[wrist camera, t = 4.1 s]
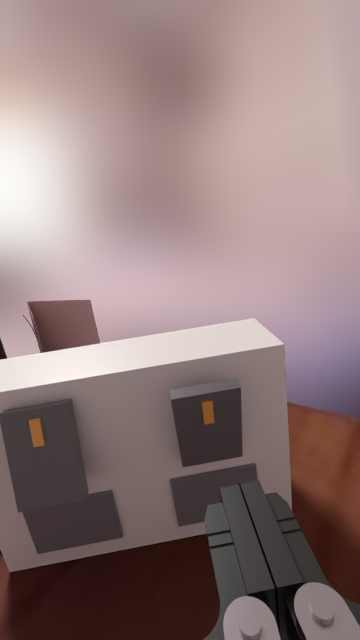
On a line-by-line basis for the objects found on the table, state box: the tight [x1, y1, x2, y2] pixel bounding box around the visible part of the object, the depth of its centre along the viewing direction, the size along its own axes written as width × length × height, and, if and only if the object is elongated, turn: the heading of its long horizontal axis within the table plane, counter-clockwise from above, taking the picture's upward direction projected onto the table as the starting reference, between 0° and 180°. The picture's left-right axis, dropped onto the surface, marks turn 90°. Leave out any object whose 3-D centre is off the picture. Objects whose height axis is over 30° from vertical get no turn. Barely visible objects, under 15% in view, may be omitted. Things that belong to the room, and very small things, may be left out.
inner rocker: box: [0, 399, 89, 513], centre depth 19 cm, size 4×1×6 cm, turn 96°
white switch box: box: [0, 318, 292, 572], centre depth 24 cm, size 21×6×14 cm, turn 96°
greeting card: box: [23, 300, 100, 353], centre depth 41 cm, size 11×7×15 cm, turn 29°
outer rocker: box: [169, 378, 243, 467], centre depth 19 cm, size 4×1×6 cm, turn 96°
